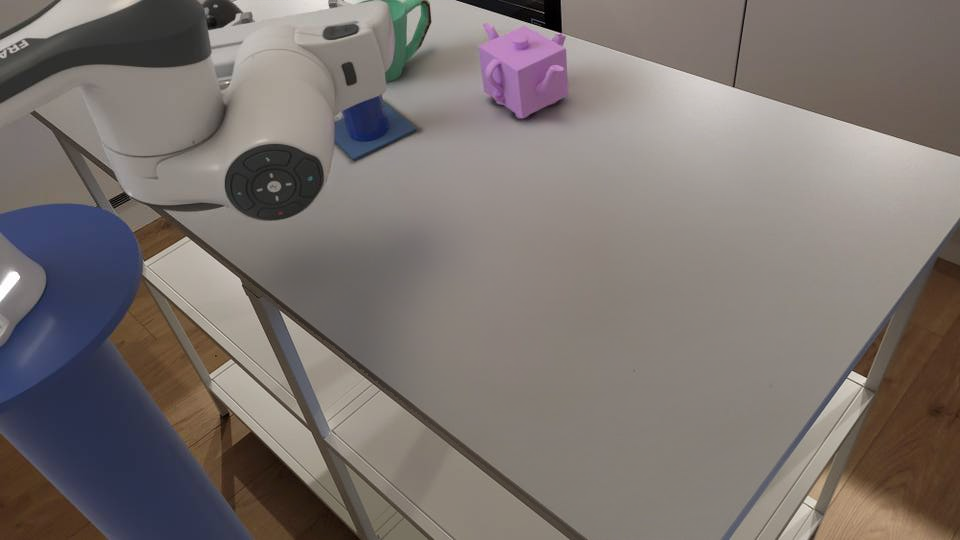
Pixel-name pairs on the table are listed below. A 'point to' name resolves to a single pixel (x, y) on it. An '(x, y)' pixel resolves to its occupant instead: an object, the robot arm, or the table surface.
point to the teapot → (524, 69)
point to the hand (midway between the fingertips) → (292, 11)
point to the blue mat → (360, 149)
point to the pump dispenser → (220, 13)
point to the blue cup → (366, 120)
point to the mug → (400, 31)
